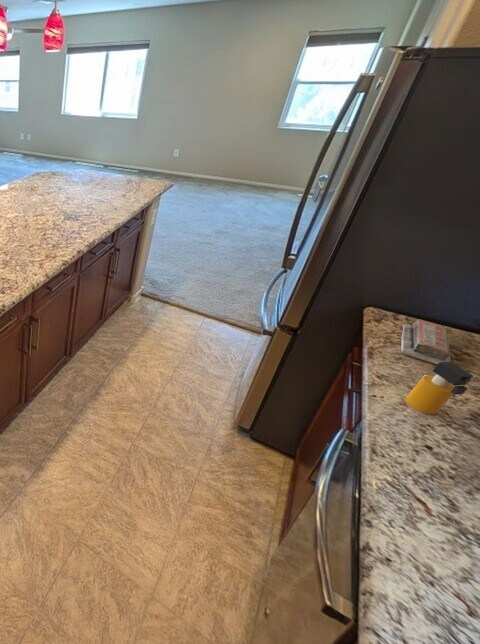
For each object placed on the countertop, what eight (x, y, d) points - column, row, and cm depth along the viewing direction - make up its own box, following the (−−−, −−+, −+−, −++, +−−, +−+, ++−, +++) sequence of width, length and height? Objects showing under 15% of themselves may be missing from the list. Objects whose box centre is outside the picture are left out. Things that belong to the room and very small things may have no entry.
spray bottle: (398, 397, 101) (429, 359, 94) (419, 396, 101) (451, 358, 94) (424, 417, 95) (459, 378, 88) (446, 416, 95) (482, 377, 88)
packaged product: (409, 314, 123) (455, 327, 117) (401, 326, 125) (446, 340, 119) (408, 341, 112) (459, 357, 106) (399, 353, 114) (448, 370, 108)
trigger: (450, 391, 91) (455, 385, 90) (458, 391, 91) (463, 385, 90) (454, 394, 91) (459, 388, 90) (462, 394, 91) (467, 388, 90)
